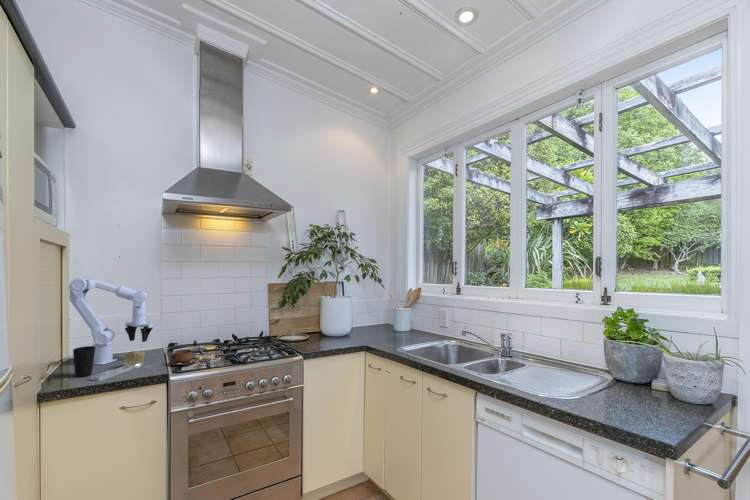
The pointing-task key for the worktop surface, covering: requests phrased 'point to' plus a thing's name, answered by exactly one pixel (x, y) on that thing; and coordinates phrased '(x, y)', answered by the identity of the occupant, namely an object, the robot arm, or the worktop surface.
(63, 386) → the worktop surface
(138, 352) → the yellowish glass tumbler
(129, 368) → the ratchet
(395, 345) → the worktop surface
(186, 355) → the cup and saucer
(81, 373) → the cup
